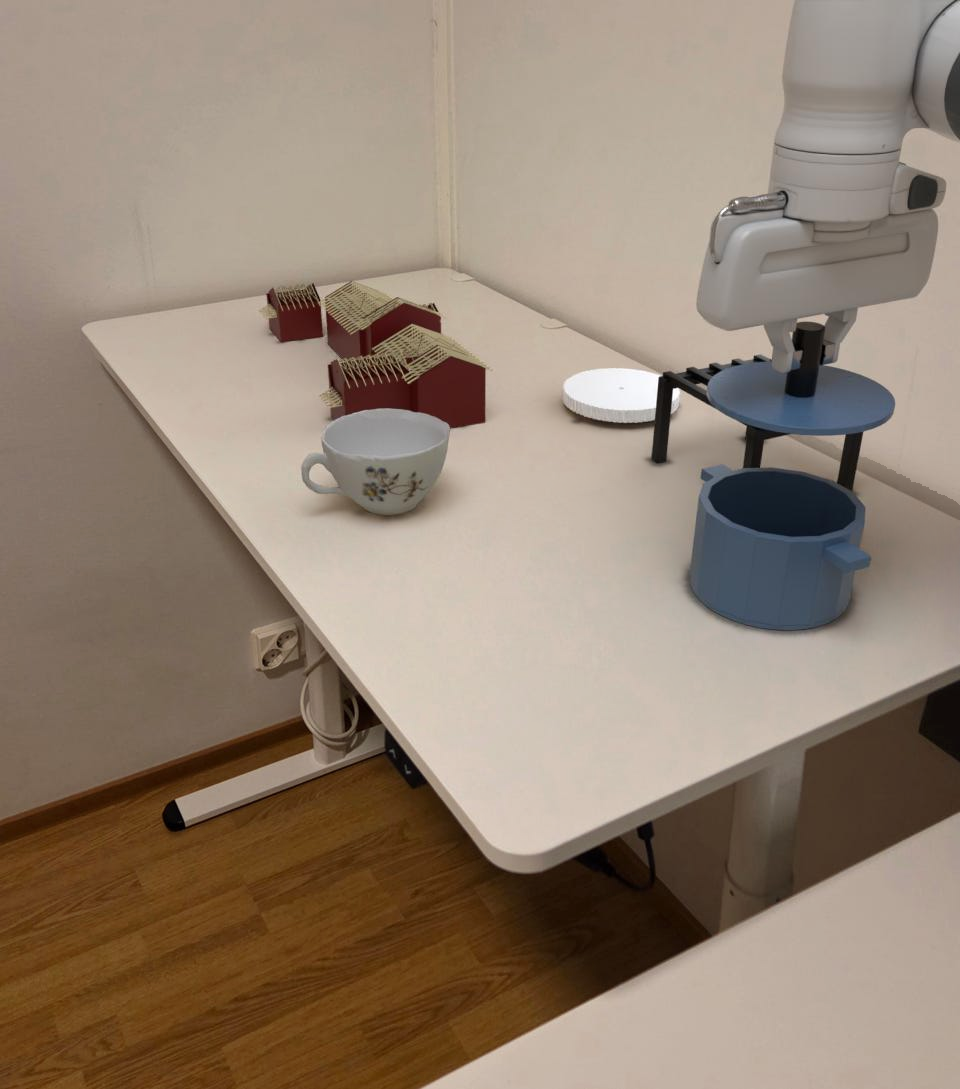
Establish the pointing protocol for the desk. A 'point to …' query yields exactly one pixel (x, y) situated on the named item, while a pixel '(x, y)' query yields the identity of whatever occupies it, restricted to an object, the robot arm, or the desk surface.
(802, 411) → the lid
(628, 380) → the plastic lid
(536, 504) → the desk surface
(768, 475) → the pot
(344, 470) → the teacup
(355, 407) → the toy houses
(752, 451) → the rack
